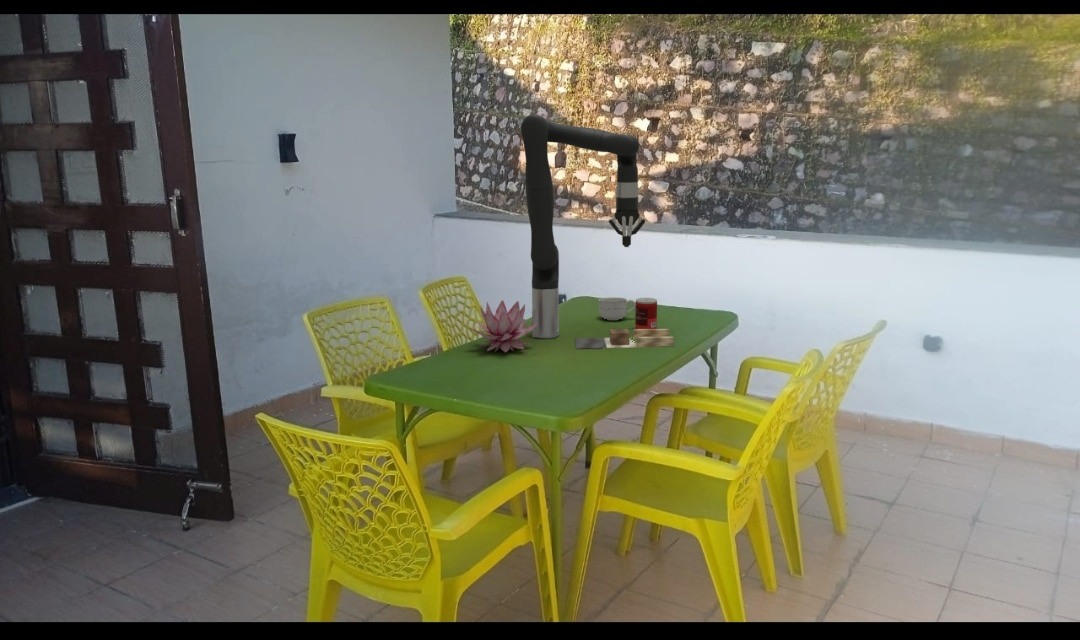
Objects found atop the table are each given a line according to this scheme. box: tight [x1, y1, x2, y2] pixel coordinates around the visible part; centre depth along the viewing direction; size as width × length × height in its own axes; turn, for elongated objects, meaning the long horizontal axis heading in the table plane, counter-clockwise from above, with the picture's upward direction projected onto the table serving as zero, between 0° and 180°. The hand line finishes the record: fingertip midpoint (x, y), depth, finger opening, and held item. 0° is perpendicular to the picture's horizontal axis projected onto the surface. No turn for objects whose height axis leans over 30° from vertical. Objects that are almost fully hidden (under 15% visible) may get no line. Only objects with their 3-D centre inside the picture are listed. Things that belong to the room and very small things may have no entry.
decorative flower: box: [470, 300, 537, 354], centre depth 265 cm, size 21×21×15 cm
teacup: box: [598, 296, 636, 321], centre depth 306 cm, size 14×11×8 cm
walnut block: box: [609, 328, 630, 345], centre depth 271 cm, size 6×6×4 cm
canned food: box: [634, 297, 658, 329], centre depth 289 cm, size 8×8×11 cm
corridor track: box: [574, 328, 675, 350], centre depth 272 cm, size 32×13×3 cm, turn 90°
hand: (626, 246), depth 277 cm, fingers closed
